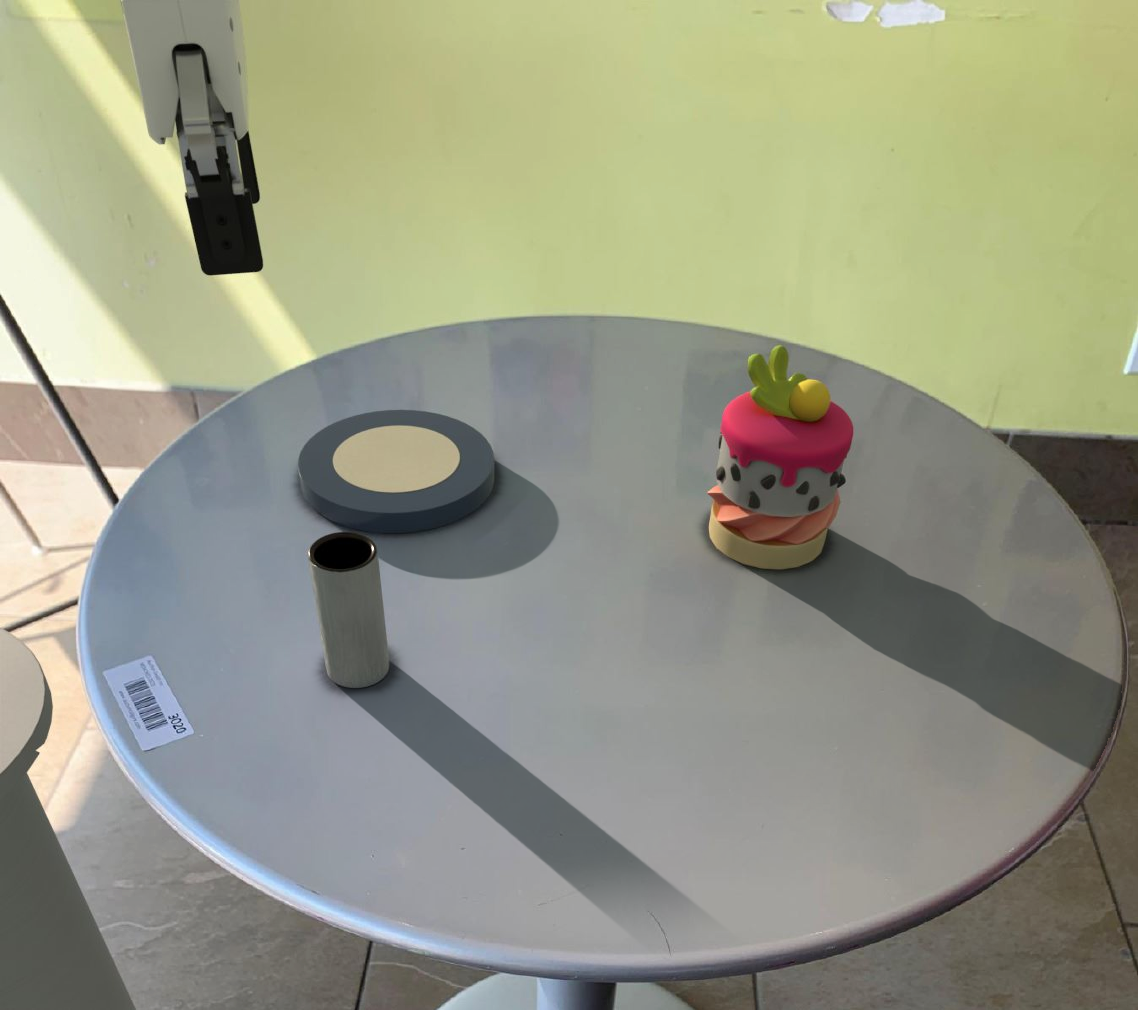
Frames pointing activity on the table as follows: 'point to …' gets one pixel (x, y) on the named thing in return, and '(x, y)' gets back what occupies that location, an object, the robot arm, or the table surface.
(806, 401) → the cake
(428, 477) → the plate
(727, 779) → the table surface
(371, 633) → the planter
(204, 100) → the robot arm
